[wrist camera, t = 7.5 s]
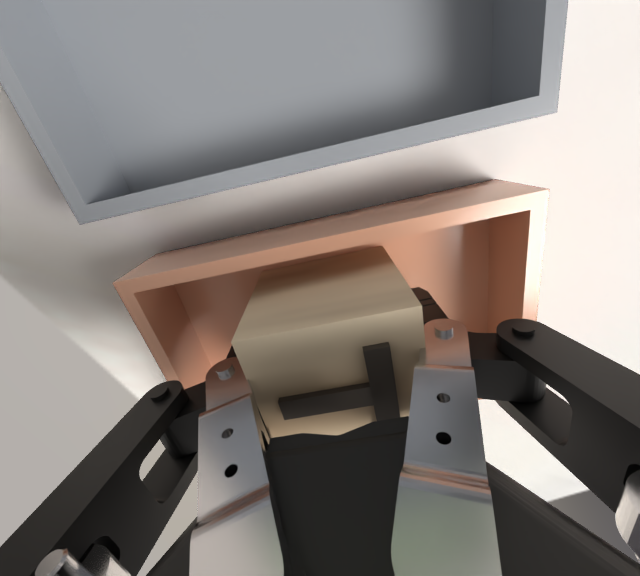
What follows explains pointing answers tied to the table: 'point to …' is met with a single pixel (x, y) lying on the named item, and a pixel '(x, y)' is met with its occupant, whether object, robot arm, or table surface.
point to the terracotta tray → (340, 238)
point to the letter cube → (331, 343)
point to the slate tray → (261, 86)
